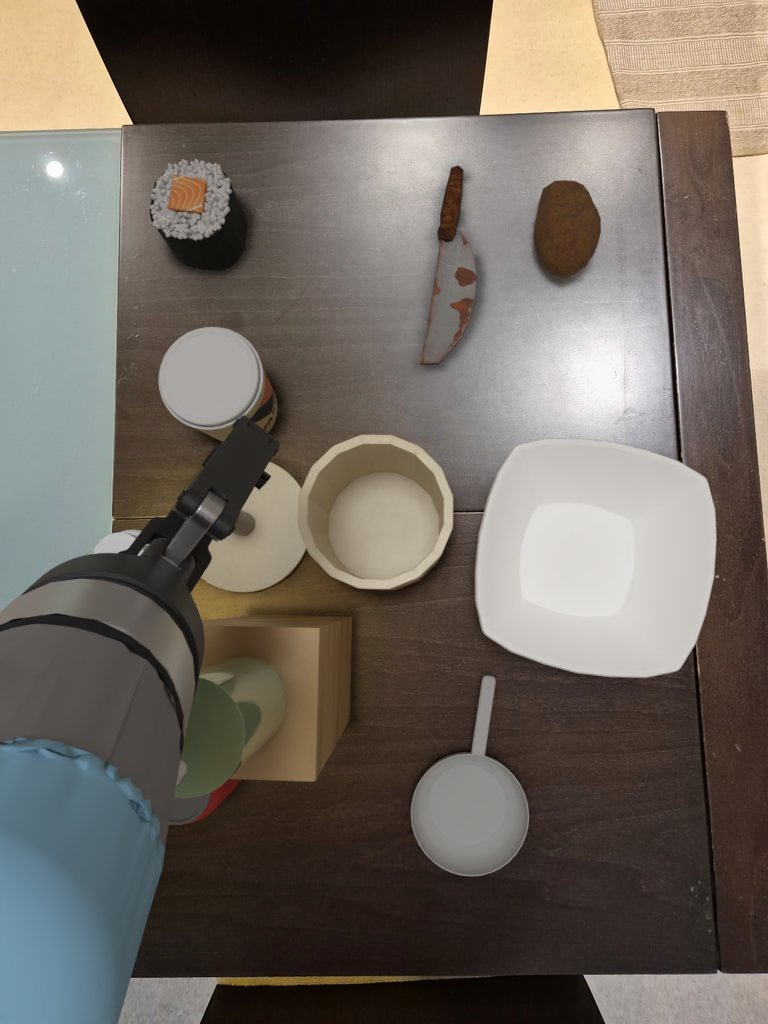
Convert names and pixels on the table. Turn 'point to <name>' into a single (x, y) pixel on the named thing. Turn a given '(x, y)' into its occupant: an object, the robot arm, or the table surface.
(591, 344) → the table surface
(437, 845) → the small pan
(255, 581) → the lid
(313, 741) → the stand
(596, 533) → the bowl
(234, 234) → the sushi
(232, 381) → the coffee cup
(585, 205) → the potato
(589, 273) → the table surface
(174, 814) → the beer can
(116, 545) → the pill bottle
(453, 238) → the kitchen knife
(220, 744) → the canister
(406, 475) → the pot
